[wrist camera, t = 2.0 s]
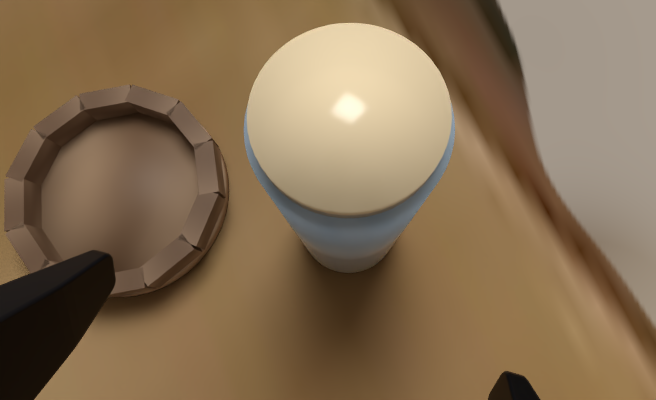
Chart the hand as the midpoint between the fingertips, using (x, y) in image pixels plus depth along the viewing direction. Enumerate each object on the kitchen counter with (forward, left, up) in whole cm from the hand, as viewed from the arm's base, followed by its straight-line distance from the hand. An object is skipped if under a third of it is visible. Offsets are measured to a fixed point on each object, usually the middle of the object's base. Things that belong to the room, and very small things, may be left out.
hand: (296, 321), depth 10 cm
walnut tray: (-9, +7, -11) cm, 16 cm away
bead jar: (+2, +4, -11) cm, 12 cm away
